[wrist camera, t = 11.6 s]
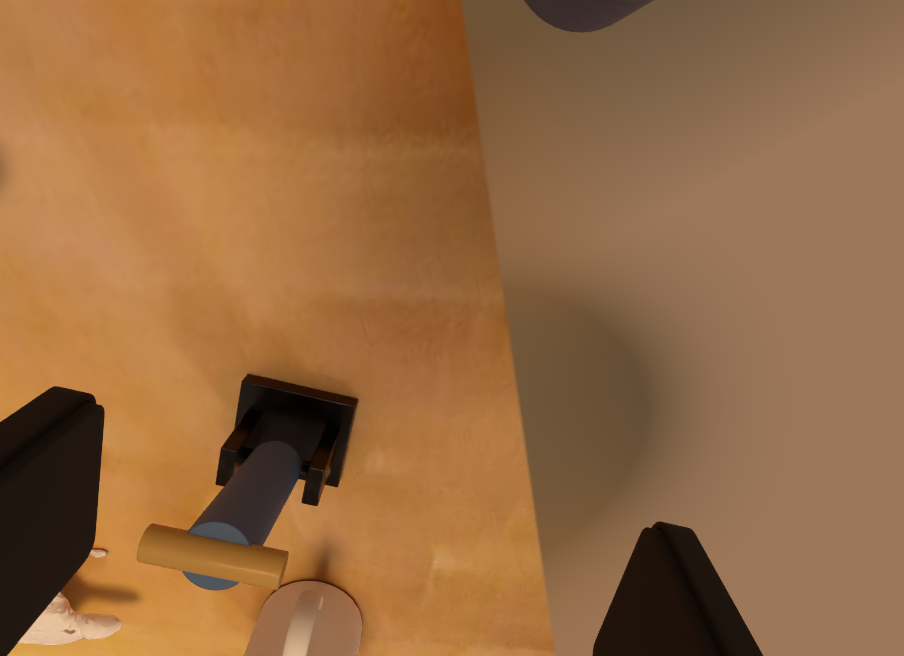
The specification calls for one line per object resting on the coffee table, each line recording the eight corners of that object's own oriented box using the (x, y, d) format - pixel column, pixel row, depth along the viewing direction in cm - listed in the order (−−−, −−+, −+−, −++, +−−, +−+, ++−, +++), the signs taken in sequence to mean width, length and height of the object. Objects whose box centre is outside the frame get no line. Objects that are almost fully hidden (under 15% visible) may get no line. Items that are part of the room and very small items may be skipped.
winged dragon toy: (-91, 623, 49) (-139, 667, 45) (-111, 512, 46) (-164, 549, 42) (143, 646, 49) (116, 692, 45) (139, 539, 46) (110, 578, 42)
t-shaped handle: (143, 515, 26) (130, 586, 26) (287, 545, 26) (271, 614, 27) (231, 430, 38) (221, 479, 38) (329, 451, 38) (318, 500, 39)
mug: (354, 667, 50) (329, 803, 40) (255, 650, 50) (206, 784, 40) (381, 542, 46) (362, 658, 36) (275, 522, 46) (225, 635, 36)
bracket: (247, 373, 42) (212, 416, 36) (358, 398, 43) (342, 445, 37) (234, 455, 44) (199, 509, 38) (340, 478, 45) (323, 535, 39)
